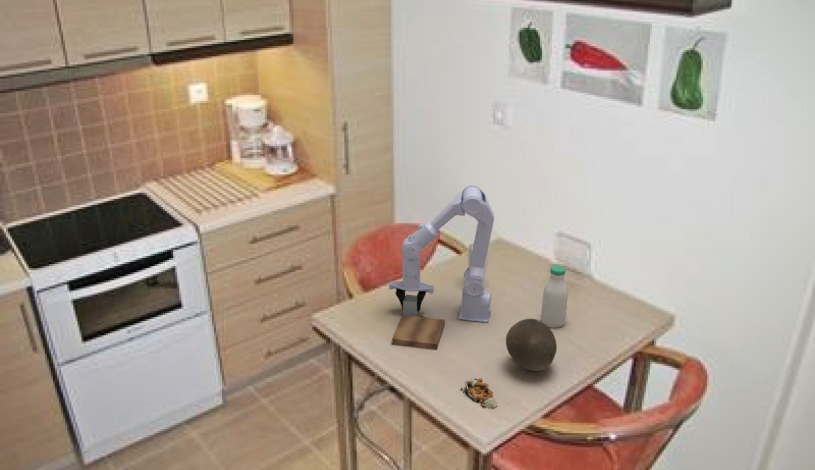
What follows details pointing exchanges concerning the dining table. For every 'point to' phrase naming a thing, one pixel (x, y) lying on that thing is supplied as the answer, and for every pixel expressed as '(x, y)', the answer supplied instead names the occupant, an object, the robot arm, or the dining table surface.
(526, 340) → the dark brown coconut
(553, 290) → the milk bottle
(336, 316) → the dining table surface
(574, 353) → the dining table surface
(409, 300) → the block
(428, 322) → the board
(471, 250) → the beer glass
